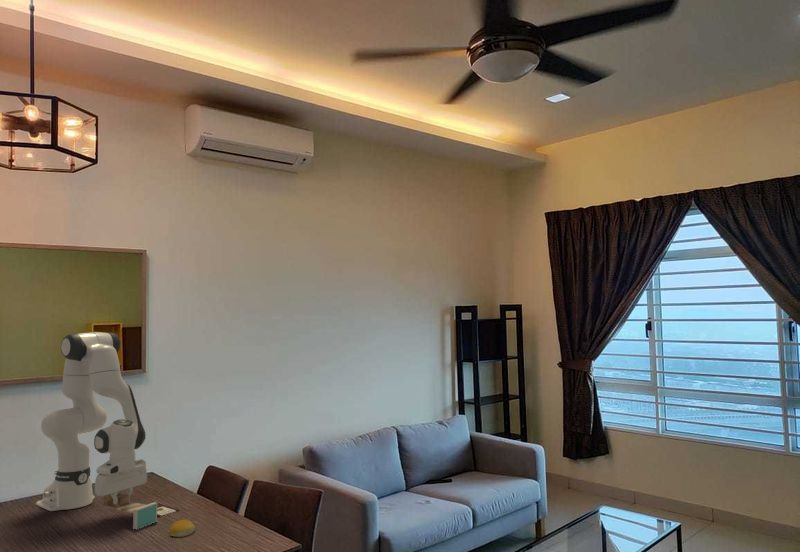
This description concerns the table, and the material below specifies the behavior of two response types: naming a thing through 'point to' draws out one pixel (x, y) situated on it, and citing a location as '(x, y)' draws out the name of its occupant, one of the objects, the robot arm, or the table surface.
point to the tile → (144, 515)
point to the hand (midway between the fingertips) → (121, 502)
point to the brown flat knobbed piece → (122, 503)
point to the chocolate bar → (164, 509)
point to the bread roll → (181, 528)
